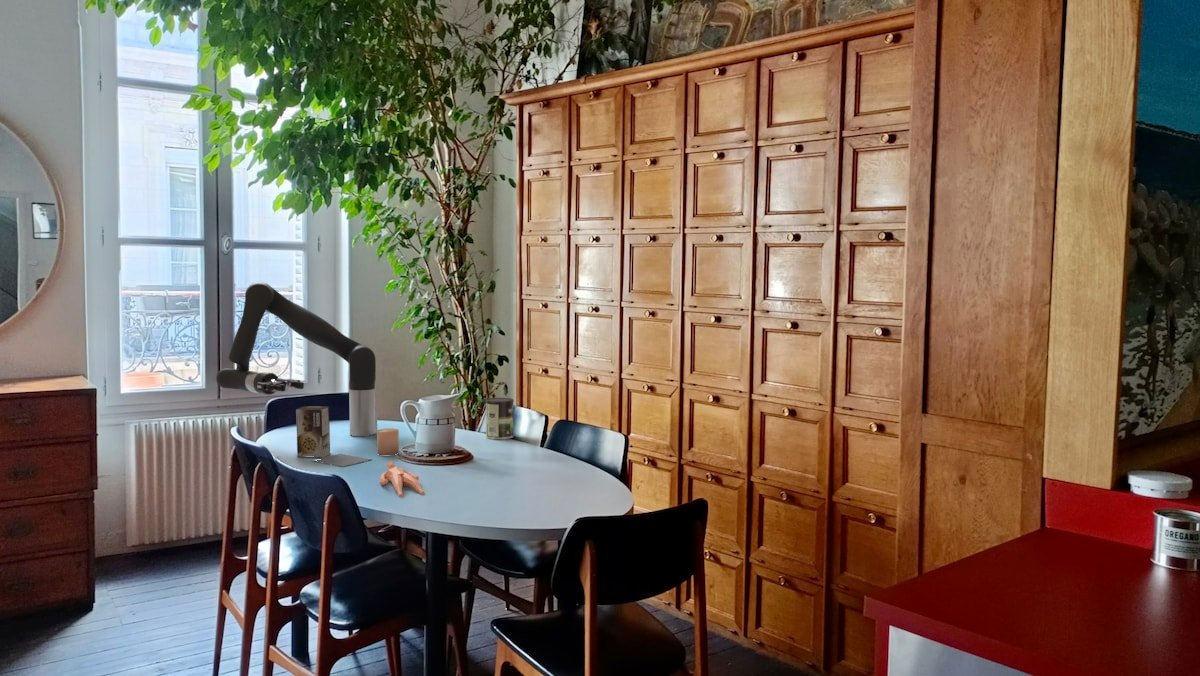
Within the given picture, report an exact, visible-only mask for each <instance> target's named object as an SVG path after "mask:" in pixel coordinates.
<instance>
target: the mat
mask: <svg viewBox="0 0 1200 676" xmlns="http://www.w3.org/2000/svg"><path fill="white" fill-rule="evenodd" d="M320 458H321V460H317V461H318V462H317V463H319V462H323V463H322V464H324V463H327V464H326V465H329V464H332V465H331V466H334V465H335V466H334V467H339V466H342V467H341V468H345V467H344V466H346V467H349V466H348V465H350V466H353V465H352V464H354V465H357V464H356V463H358V464H361V463H360V462H362V463H365V462H364V461H367V460H371V459H372V458H367V457H363V456H362V457H361V456H355V455H350V454H345V453H337V454H332V455H327V456H325V457H320ZM371 461H372V460H371ZM367 462H368V461H367Z"/></svg>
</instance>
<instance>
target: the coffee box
mask: <svg viewBox="0 0 1200 676" xmlns="http://www.w3.org/2000/svg"><path fill="white" fill-rule="evenodd" d="M295 414H296V415H295V416H296V417H295V420H296V422H295V424H296V452H297V453H296V454H297V455H296V457H297V456H314V457H313V458H323V457H324V456H325V457H327V456H329V455H330V454H331V434H330V431H331V430H330V425H331V424H330V406H320V405H319V406H316V405H314V406H313V405H311V406H310V405H307V406H306V405H304V406H301V407H298V408H295ZM328 454H329V455H328ZM326 455H327V456H326Z"/></svg>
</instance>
